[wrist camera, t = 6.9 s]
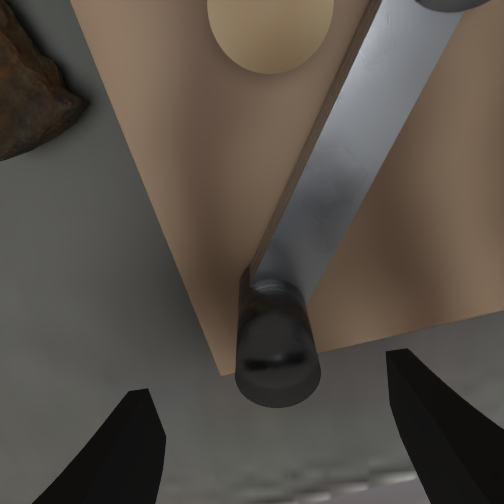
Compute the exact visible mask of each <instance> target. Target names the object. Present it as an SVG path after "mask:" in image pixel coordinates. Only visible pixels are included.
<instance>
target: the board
mask: <svg viewBox="0 0 504 504" xmlns="http://www.w3.org/2000/svg"><path fill="white" fill-rule="evenodd" d="M370 1H371V0H334V7H333V15H332V19H331V23H330V26H329V29H328V32H327V34H326V36H325V38H324V40H323V42H322V43H321V45H320V46H319V48H318V49H317V50H316V52H315V53H314V54H313V55H312V56H311V57H310V58H309V59H308V60H307V61H305V62H304V63H302V64H301V65H299V66H298V67H296V68H294V69H292V70H289V71H287V72H283V73H279V74H261V73H256V72H253V71H250V70H247V69H245V68H243V67H241V66H240V65H238V64H237V63H235V62H234V61H233V60H232V59H230V58H229V57H228V56H227V55H226V53H225V52H224V51H223V50H222V48H221V47H220V45H219V44H218V42H217V40H216V38H215V36H214V34H213V32H212V29H211V26H210V22H209V17H208V9H207V0H70V2H71V4H72V7H73V9H74V11H75V14H76V16H77V19H78V21H79V24H80V26H81V29H82V31H83V34H84V36H85V39H86V41H87V44H88V46H89V49H90V51H91V54H92V56H93V59H94V61H95V64H96V66H97V69H98V71H99V74H100V76H101V79H102V81H103V84H104V86H105V89H106V91H107V94H108V96H109V99H110V101H111V104H112V106H113V109H114V111H115V114H116V116H117V119H118V121H119V124H120V126H121V129H122V131H123V133H124V136H125V138H126V141H127V143H128V146H129V148H130V151H131V153H132V156H133V158H134V161H135V163H136V166H137V168H138V171H139V173H140V176H141V178H142V181H143V183H144V186H145V188H146V191H147V193H148V196H149V198H150V201H151V203H152V206H153V208H154V211H155V213H156V216H157V218H158V221H159V223H160V226H161V228H162V231H163V233H164V236H165V238H166V241H167V243H168V246H169V248H170V251H171V253H172V255H173V258H174V260H175V263H176V265H177V268H178V270H179V273H180V275H181V278H182V280H183V283H184V285H185V288H186V290H187V293H188V295H189V298H190V300H191V303H192V305H193V308H194V310H195V313H196V315H197V318H198V320H199V323H200V325H201V328H202V330H203V333H204V335H205V338H206V340H207V343H208V345H209V348H210V350H211V353H212V355H213V358H214V360H215V363H216V365H217V368H218V370H219V372H220V375H221V376H224V375H228V374H232V373H235V366H236V344H237V322H238V300H239V282H240V278H241V276H242V274H243V272H244V271H245V269H246V268H247V267H248V266H250V265H251V262H252V260H253V258H254V256H255V254H256V251H257V249H258V247H259V245H260V243H261V241H262V238H263V236H264V234H265V232H266V230H267V227H268V225H269V223H270V221H271V219H272V216H273V214H274V212H275V210H276V208H277V205H278V203H279V201H280V199H281V197H282V194H283V192H284V190H285V188H286V186H287V183H288V181H289V179H290V177H291V175H292V172H293V170H294V168H295V166H296V164H297V162H298V159H299V157H300V155H301V153H302V151H303V148H304V146H305V144H306V142H307V140H308V137H309V135H310V133H311V131H312V129H313V126H314V124H315V122H316V120H317V118H318V115H319V113H320V111H321V109H322V107H323V104H324V102H325V100H326V98H327V96H328V94H329V91H330V89H331V87H332V85H333V83H334V80H335V78H336V76H337V74H338V72H339V69H340V67H341V65H342V63H343V61H344V58H345V56H346V54H347V52H348V50H349V47H350V45H351V43H352V41H353V39H354V36H355V34H356V32H357V30H358V28H359V25H360V23H361V21H362V19H363V17H364V15H365V12H366V10H367V8H368V6H369V4H370ZM306 308H307V312H308V316H309V321H310V325H311V329H312V334H313V338H314V343H315V347H316V351H317V354H318V353H322V352H326V351H331V350H335V349H339V348H344V347H348V346H352V345H356V344H361V343H365V342H369V341H374V340H378V339H382V338H387V337H391V336H395V335H399V334H404V333H408V332H412V331H417V330H421V329H425V328H429V327H434V326H438V325H442V324H447V323H451V322H455V321H459V320H464V319H468V318H472V317H477V316H481V315H485V314H489V313H494V312H498V311H502V310H504V0H491V1H489V2H487V3H485V4H483V5H481V6H478V7H475V8H473V9H469V10H465V11H464V13H463V15H462V17H461V19H460V21H459V22H458V24H457V26H456V28H455V30H454V32H453V34H452V35H451V37H450V39H449V41H448V43H447V45H446V47H445V48H444V50H443V52H442V54H441V56H440V58H439V60H438V61H437V63H436V65H435V67H434V69H433V71H432V73H431V74H430V76H429V78H428V80H427V82H426V84H425V86H424V87H423V89H422V91H421V93H420V95H419V97H418V99H417V100H416V102H415V104H414V106H413V108H412V110H411V112H410V113H409V115H408V117H407V119H406V121H405V123H404V125H403V126H402V128H401V130H400V132H399V134H398V136H397V138H396V139H395V141H394V143H393V145H392V147H391V149H390V151H389V152H388V154H387V156H386V158H385V160H384V162H383V164H382V165H381V167H380V169H379V171H378V173H377V175H376V177H375V178H374V180H373V182H372V184H371V186H370V188H369V190H368V191H367V193H366V195H365V197H364V199H363V201H362V203H361V204H360V206H359V208H358V210H357V212H356V214H355V216H354V217H353V219H352V221H351V223H350V225H349V227H348V229H347V230H346V232H345V234H344V236H343V238H342V240H341V242H340V243H339V245H338V247H337V249H336V251H335V253H334V255H333V256H332V258H331V260H330V262H329V264H328V266H327V268H326V269H325V271H324V273H323V275H322V277H321V279H320V281H319V282H318V284H317V286H316V288H315V290H314V292H313V294H312V295H311V297H310V299H309V301H308V303H307V305H306Z"/></svg>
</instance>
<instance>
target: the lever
mask: <svg viewBox="0 0 504 504" xmlns="http://www.w3.org/2000/svg"><path fill="white" fill-rule="evenodd" d="M489 1H491V0H371V1H370V4H369V6H368V8H367V10H366V12H365V15H364V17H363V19H362V21H361V23H360V25H359V28H358V30H357V32H356V34H355V36H354V39H353V41H352V43H351V45H350V47H349V50H348V52H347V54H346V56H345V58H344V61H343V63H342V65H341V67H340V69H339V72H338V74H337V76H336V78H335V80H334V83H333V85H332V87H331V89H330V91H329V94H328V96H327V98H326V100H325V102H324V104H323V107H322V109H321V111H320V113H319V115H318V118H317V120H316V122H315V124H314V126H313V129H312V131H311V133H310V135H309V137H308V140H307V142H306V144H305V146H304V148H303V151H302V153H301V155H300V157H299V159H298V162H297V164H296V166H295V168H294V170H293V172H292V175H291V177H290V179H289V181H288V183H287V186H286V188H285V190H284V192H283V194H282V197H281V199H280V201H279V203H278V205H277V208H276V210H275V212H274V214H273V216H272V219H271V221H270V223H269V225H268V227H267V230H266V232H265V234H264V236H263V238H262V241H261V243H260V245H259V247H258V249H257V251H256V254H255V256H254V258H253V260H252V262H251V265H250V266H248V267H247V268H246V269H245V271H244V272H243V274H242V276H241V278H240V282H239V300H238V322H237V344H236V366H235V380H236V384H237V386H238V388H239V390H240V391H241V393H242V394H243V395H244V396H245V397H246V398H247V399H249V400H250V401H252V402H254V403H256V404H258V405H261V406H265V407H270V408H283V407H289V406H293V405H295V404H298V403H300V402H302V401H304V400H305V399H307V398H308V397H309V396H310V395H311V394H312V393H313V392H314V391H315V389H316V388H317V386H318V384H319V381H320V376H321V370H320V364H319V360H318V356H317V351H316V347H315V343H314V338H313V334H312V329H311V325H310V321H309V316H308V312H307V308H306V305H307V303H308V301H309V299H310V297H311V295H312V294H313V292H314V290H315V288H316V286H317V284H318V282H319V281H320V279H321V277H322V275H323V273H324V271H325V269H326V268H327V266H328V264H329V262H330V260H331V258H332V256H333V255H334V253H335V251H336V249H337V247H338V245H339V243H340V242H341V240H342V238H343V236H344V234H345V232H346V230H347V229H348V227H349V225H350V223H351V221H352V219H353V217H354V216H355V214H356V212H357V210H358V208H359V206H360V204H361V203H362V201H363V199H364V197H365V195H366V193H367V191H368V190H369V188H370V186H371V184H372V182H373V180H374V178H375V177H376V175H377V173H378V171H379V169H380V167H381V165H382V164H383V162H384V160H385V158H386V156H387V154H388V152H389V151H390V149H391V147H392V145H393V143H394V141H395V139H396V138H397V136H398V134H399V132H400V130H401V128H402V126H403V125H404V123H405V121H406V119H407V117H408V115H409V113H410V112H411V110H412V108H413V106H414V104H415V102H416V100H417V99H418V97H419V95H420V93H421V91H422V89H423V87H424V86H425V84H426V82H427V80H428V78H429V76H430V74H431V73H432V71H433V69H434V67H435V65H436V63H437V61H438V60H439V58H440V56H441V54H442V52H443V50H444V48H445V47H446V45H447V43H448V41H449V39H450V37H451V35H452V34H453V32H454V30H455V28H456V26H457V24H458V22H459V21H460V19H461V17H462V15H463V13H464V11H465V10H469V9H473V8H475V7H478V6H481V5H483V4H485V3H487V2H489Z"/></svg>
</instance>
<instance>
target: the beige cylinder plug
mask: <svg viewBox="0 0 504 504" xmlns="http://www.w3.org/2000/svg"><path fill="white" fill-rule="evenodd" d="M333 7H334V0H207V9H208V17H209V22H210V26H211V29H212V32H213V34H214V36H215V38H216V40H217V42H218V44H219V45H220V47H221V48H222V50H223V51H224V52H225V53H226V55H227V56H228V57H229V58H230V59H232V60H233V61H234V62H235V63H237V64H238V65H240V66H241V67H243V68H245V69H247V70H250V71H253V72H256V73H261V74H279V73H283V72H287V71H289V70H292V69H294V68H296V67H298V66H299V65H301V64H302V63H304V62H305V61H307V60H308V59H309V58H310V57H311V56H312V55H313V54H314V53H315V52H316V50H317V49H318V48H319V46H320V45H321V43H322V42H323V40H324V38H325V36H326V34H327V32H328V29H329V26H330V23H331V19H332V15H333Z"/></svg>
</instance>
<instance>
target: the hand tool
mask: <svg viewBox="0 0 504 504" xmlns="http://www.w3.org/2000/svg"><path fill="white" fill-rule="evenodd" d="M87 106H88V103H87V101H86V100H85V99H83V98H82V97H80V96H79V95H76V94H73V93H70V92H69V91H68V90H67V88H66V87H65V86H64V82H63V78H62V73H61V71H60V70H59V69H58V68H57V66H56V65H55V63H54V62H53V60H51V59H48V58H46V57H44V56H43V55H42V54H41V53H40V52H39V51H38V49H37V48H36V46H35V45H34V44H33V42H32V41H31V39H30V38H29V37H28V35H27V34H26V32H25V31H24V29H23V28H22V26H21V25H20V24H19V22H18V20H17V19H16V17H15V15H14V13H13V11H12V10H11V8H10V6H9V5H8V4H7V3H6V2H5V1H4V0H0V161H3V160H7V159H10V158H12V157H15V156H18V155H21V154H23V153H26V152H29V151H31V150H33V149H35V148H37V147H38V146H40V145H42V144H44V143H46V142H48V141H50V140H51V139H53V138H54V137H56V136H58V135H60V134H61V133H62V132H64V131H65V130H66V129H67V128H69V127H70V126H72V125H73V124H75V123H77V120H78V117H79V116H80V115H81V114H82V113H83V112H84V110H85V109H86V107H87Z"/></svg>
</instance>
